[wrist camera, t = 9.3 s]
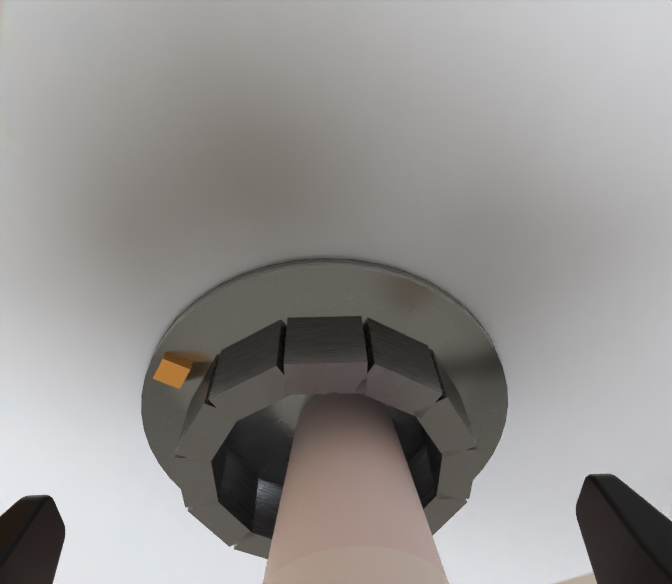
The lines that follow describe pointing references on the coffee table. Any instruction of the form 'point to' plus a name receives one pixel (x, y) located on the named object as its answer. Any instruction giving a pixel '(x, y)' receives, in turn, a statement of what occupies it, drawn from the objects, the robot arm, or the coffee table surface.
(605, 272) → the coffee table surface
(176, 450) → the mount
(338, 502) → the smoothie
